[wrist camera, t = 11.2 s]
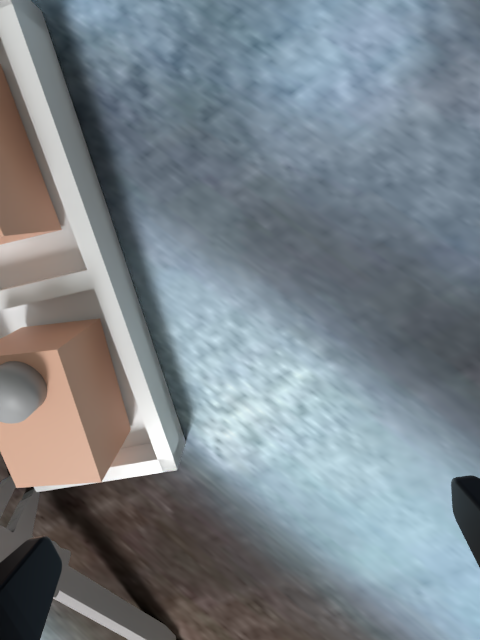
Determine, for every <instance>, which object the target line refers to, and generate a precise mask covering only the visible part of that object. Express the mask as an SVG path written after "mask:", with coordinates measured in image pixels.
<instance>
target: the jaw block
mask: <svg viewBox="0 0 480 640" xmlns="http://www.w3.org/2000/svg"><path fill="white" fill-rule="evenodd" d="M59 230H62V228H61V226H60V223H59V220H58V218H57V215H56V212H55V209H54V207H53V204H52V201H51V199H50V196H49V193H48V191H47V188H46V185H45V182H44V180H43V177H42V174H41V172H40V169H39V166H38V164H37V161H36V158H35V155H34V153H33V150H32V147H31V145H30V142H29V139H28V137H27V134H26V131H25V128H24V126H23V123H22V120H21V118H20V115H19V112H18V110H17V107H16V104H15V101H14V99H13V96H12V93H11V91H10V88H9V85H8V83H7V80H6V77H5V74H4V72H3V69H2V66H1V64H0V245H1V244H5V243H9V242H13V241H18V240H22V239H26V238H30V237H34V236H38V235H42V234H46V233H51V232H55V231H59Z"/></svg>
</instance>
